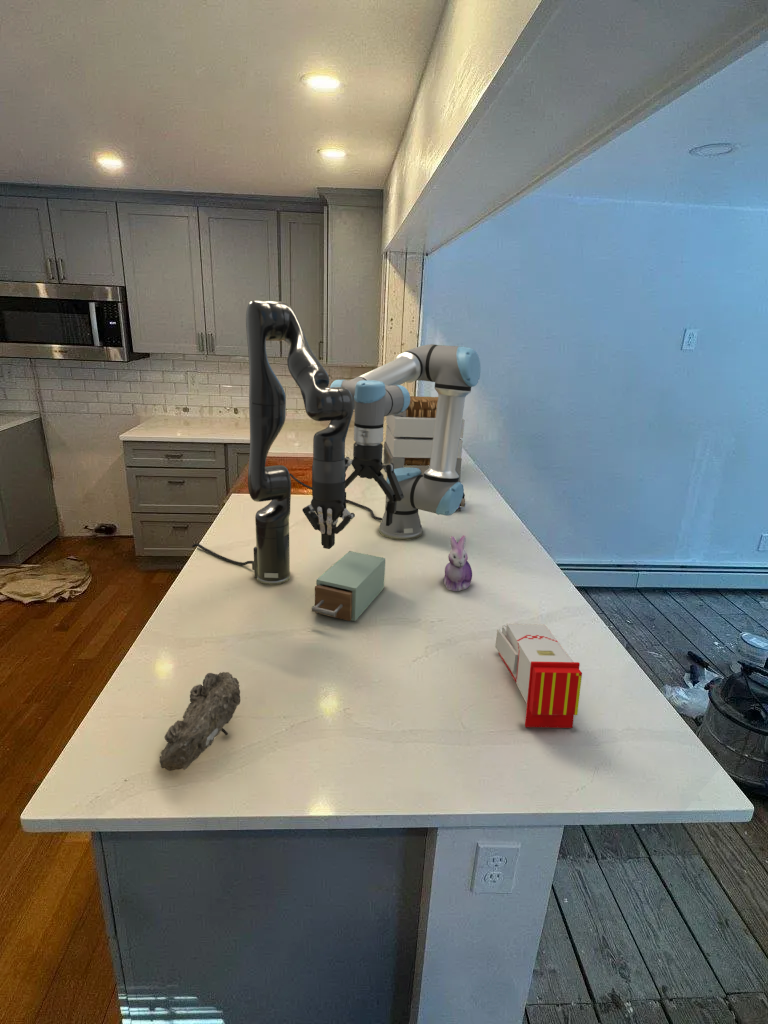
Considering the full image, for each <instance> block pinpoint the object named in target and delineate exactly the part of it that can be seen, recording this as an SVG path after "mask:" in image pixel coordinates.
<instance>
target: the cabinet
mask: <svg viewBox="0 0 768 1024" xmlns="http://www.w3.org/2000/svg"><path fill="white" fill-rule="evenodd" d="M385 574H386V557H383V556H377V555H372V554H368V553H362V552H358V551H352V550H349V551H347V552H346V553H345V554H343V556H341V558H340V559H338V560H337V561H336V562H335V563H334V564H333V565H331V566H330V567H329V568H328V569H327V570H325V572H324V573H322V574H321V575H320V576H319V577H317V578H316V583H315V584H316V585H320V586H323V584H324V585H328V586H333V587H337V588H342V589H346V590H350V591H352V619H351V620H350V622H356V621H357V620H358V619H359V618H360V616H361V615H362V614H363V613H364V612H365V611H366V609H368V607H369V606H370V605H371V604H372V602H373V601H374V600H375V599H376V598H377V597H378V596H379V594H380V593H381V592H382V591H383V590H384V589H385V577H386V576H385ZM316 585H315V586H316Z"/></svg>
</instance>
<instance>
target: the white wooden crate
mask: <svg viewBox="0 0 768 1024" xmlns="http://www.w3.org/2000/svg"><path fill="white" fill-rule="evenodd" d="M437 402H438V396H415V395H414V396H413V395H412V396H411V395H410V404H409V406H408V408H407V409H406V410H405V411H403V412H400V413H399V414H393V415H389V416H385V423H386V428H385V438H384V441H383V462H382V463H383V464H390V463H393V464H394V469H397V468H405V466H406V467H408V466H411V467H415V466H416V467H417V466H418V467H429V466H430V458H431V450H432V442H433V434H434V426H435V418H436V410H437ZM464 429H465V419H464V418H462V424H461V431H460V439H459V446H458V454H457V461H456V468H455V471H456V472H457V474H458V475H459V480H458V482H460V483H461V472H462V461H463V460H462V453H463V442H464V441H463V440H462V439H463V438H464V431H465V430H464Z"/></svg>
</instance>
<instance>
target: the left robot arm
mask: <svg viewBox="0 0 768 1024" xmlns="http://www.w3.org/2000/svg"><path fill="white" fill-rule="evenodd" d="M245 330H246V342H247V354H248V369H249V370H248V372H249V377H248V379H249V383H248V384H249V385H248V386H249V389H248V390H249V391H248V416H249V455H248V469H247V489H248V494H249V497H250V498H251V500H252V501H254V502H256V503H263V502H269V501H270V502H269V503H268V504H266V505H265V506H264V507H262V508H260V509H259V510H257V511H256V513H255V515H254V516H255V517H254V518H255V519H254V521H255V522H254V523H255V544H256V545H255V546H254V547H253V560H247V561H244V562H241V561H236V560H233V559H230V558H228V557H225V556H222V555H220V554H218V553H216V552H214V551H213V550H211V549H208V548H206V547H205V546H203V545H202V544H200V543H198V542H197V543H196V542H195V543H193V544H192V545H191V547H192V548H195V547H198V548H200V549H202V550H203V551H204V552H207V553H208V554H211V555H212V556H214V557H216V558H219V559H221V560H223V561H226V562H228V563H231V564H234V565H238V566H246V565H251V569H252V570H253V571H254V572H253V573H254V574H253V575H254V579H255V580H256V579H257V581H258V582H259V583H261V584H263V585H270V586H275V585H276V586H277V585H282V584H285V583H286V582H288V581H289V580H290V579H291V560H290V558H291V554H290V552H291V551H290V516H291V502H292V501H291V499H292V477H291V476H290V474H291V473H290V472H289V470H288V468H287V467H286V466H285V465H282V464H278V465H277V464H276V465H269V466H267V465H266V464H267V463H266V462H267V457H268V454H269V451H270V449H271V447H272V445H273V444H274V442H275V440H276V439H277V438H278V436H279V435H280V433H281V432H282V429H283V427H284V425H285V422H286V416H287V396H286V392H285V389H284V387H283V385H282V384H281V382H280V380H279V378H278V377H277V375H276V374H275V372H274V371H273V368H272V367H271V364H270V362H269V358H268V354H267V347H266V345H267V343H266V342H281V341H284V342H285V343H287V345H288V346H289V349H288V352H287V353H288V354H287V358H286V361H287V362H286V364H287V369H288V372H289V374H290V376H291V377H292V379H293V381H294V382H295V384H296V385H297V387H298V388H299V390H300V393H301V397H302V401H303V405H304V410H305V413H306V415H307V416H308V417H309V418H310V419H311V420H312V421H314V422H315V421H316V422H328V421H329V423H328V425H327V427H325V428H323V429H320V430H319V431H316V432H315V433H314V435H313V438H312V439H313V440H312V449H313V450H312V466H311V487H312V490H311V496H312V499H311V501H310V504H308V505H306V506H304V507H303V508H302V510H301V511H302V513H303V514H304V515H305V518H306V519H307V520H308V522H309V523H310V525H311V526H312V528H313V529H314V530H315V531H318V532H320V534H321V536H320V538H321V539H320V544H321V546H322V548H323V549H326V550H331V549H332V548H333V547H334V546H335V544H336V535H338V534H339V533H340V532H342V531H343V530H344V529H345V528H346V527H347V526H348V525H349V524H350V522H351V521H352V520H353V519H354V518H355V517H356V515H355V513H354V512H350V510H349V509H347V503H346V504H345V492H346V488H345V480H346V479H347V470H346V467H345V457H346V438H347V436H348V431H349V428H350V425H351V421H352V418H353V415H354V411H355V410H354V401H353V397H352V394H351V393H350V391H349V390H348V389H346V388H344V387H330V386H329V385H330V376H329V374H328V372H327V370H326V369H325V368H324V366H323V364H322V363H321V362H320V361H319V359H318V358H317V356H316V355H315V353H314V352H313V350H312V349H311V346H310V345H309V342H308V339H307V337H306V335H305V333H304V330H303V328H302V326H301V322H300V320H299V319H298V316H297V314H296V313H295V310H294V309H293V307H292V306H291V304H289V303H288V302H286V301H282V300H281V301H280V300H261V299H254V300H251V301H250V302H249V303H248V304H247V307H246V312H245ZM342 513H343V516H342V518H341V519H342V521H341V522H340V523H339V524H338V522H339V518H340V516H341V514H342Z"/></svg>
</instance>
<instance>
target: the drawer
mask: <svg viewBox="0 0 768 1024" xmlns="http://www.w3.org/2000/svg"><path fill="white" fill-rule="evenodd" d="M311 612H312V613H315V614H319V615H323V616H327V617H331V618H336V619H339V620H344V621H348V622H351V619H352V591H350V590H346V589H342V588H337V587H333V586H328V585H324V584H323V586H320V585H315V586H314V605H313V606H311Z"/></svg>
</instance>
